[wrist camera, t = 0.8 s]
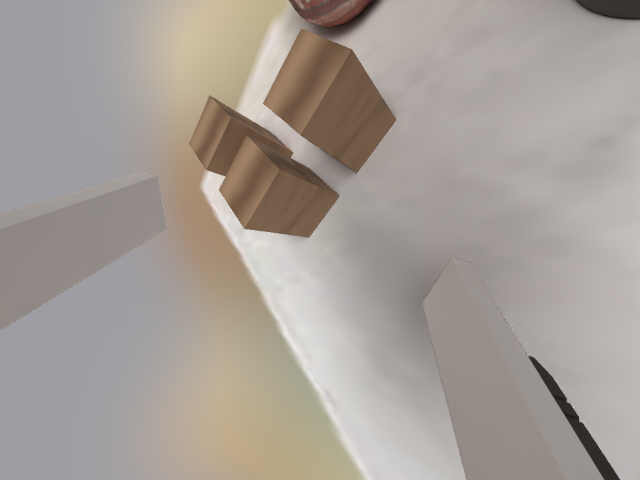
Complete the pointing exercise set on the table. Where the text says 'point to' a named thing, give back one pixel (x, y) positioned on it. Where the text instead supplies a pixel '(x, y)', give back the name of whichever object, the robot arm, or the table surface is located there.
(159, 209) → the robot arm
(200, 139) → the walnut block marked 1
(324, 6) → the pottery
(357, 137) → the walnut block marked 2
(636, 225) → the table surface
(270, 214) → the brown wooden block
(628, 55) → the table surface
